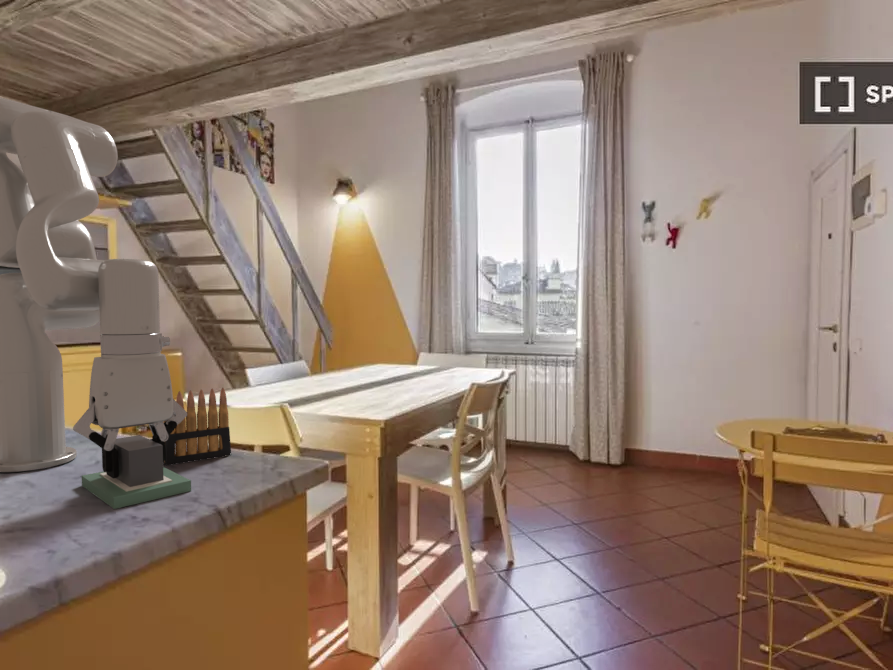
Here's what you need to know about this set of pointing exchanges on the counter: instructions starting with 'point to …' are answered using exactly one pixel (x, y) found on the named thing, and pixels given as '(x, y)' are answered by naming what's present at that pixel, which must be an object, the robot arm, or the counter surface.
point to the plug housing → (139, 460)
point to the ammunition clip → (200, 431)
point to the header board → (134, 488)
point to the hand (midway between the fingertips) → (135, 470)
